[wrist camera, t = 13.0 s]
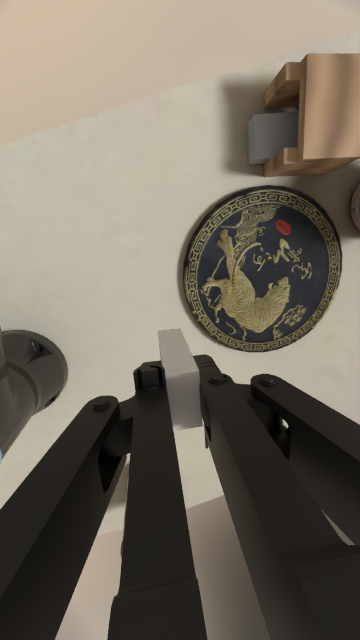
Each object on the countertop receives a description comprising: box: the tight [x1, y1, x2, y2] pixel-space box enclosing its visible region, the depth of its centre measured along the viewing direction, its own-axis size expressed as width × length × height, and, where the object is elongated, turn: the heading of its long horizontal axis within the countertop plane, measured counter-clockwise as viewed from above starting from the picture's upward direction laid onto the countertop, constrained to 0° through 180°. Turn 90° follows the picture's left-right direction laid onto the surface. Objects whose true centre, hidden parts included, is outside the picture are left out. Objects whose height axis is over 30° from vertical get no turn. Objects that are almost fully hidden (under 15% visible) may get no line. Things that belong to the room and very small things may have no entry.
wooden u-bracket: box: [264, 54, 360, 177], centre depth 38 cm, size 11×12×8 cm
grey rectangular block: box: [247, 112, 299, 165], centre depth 41 cm, size 10×6×3 cm, turn 96°
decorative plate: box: [183, 185, 342, 352], centre depth 47 cm, size 30×2×30 cm
